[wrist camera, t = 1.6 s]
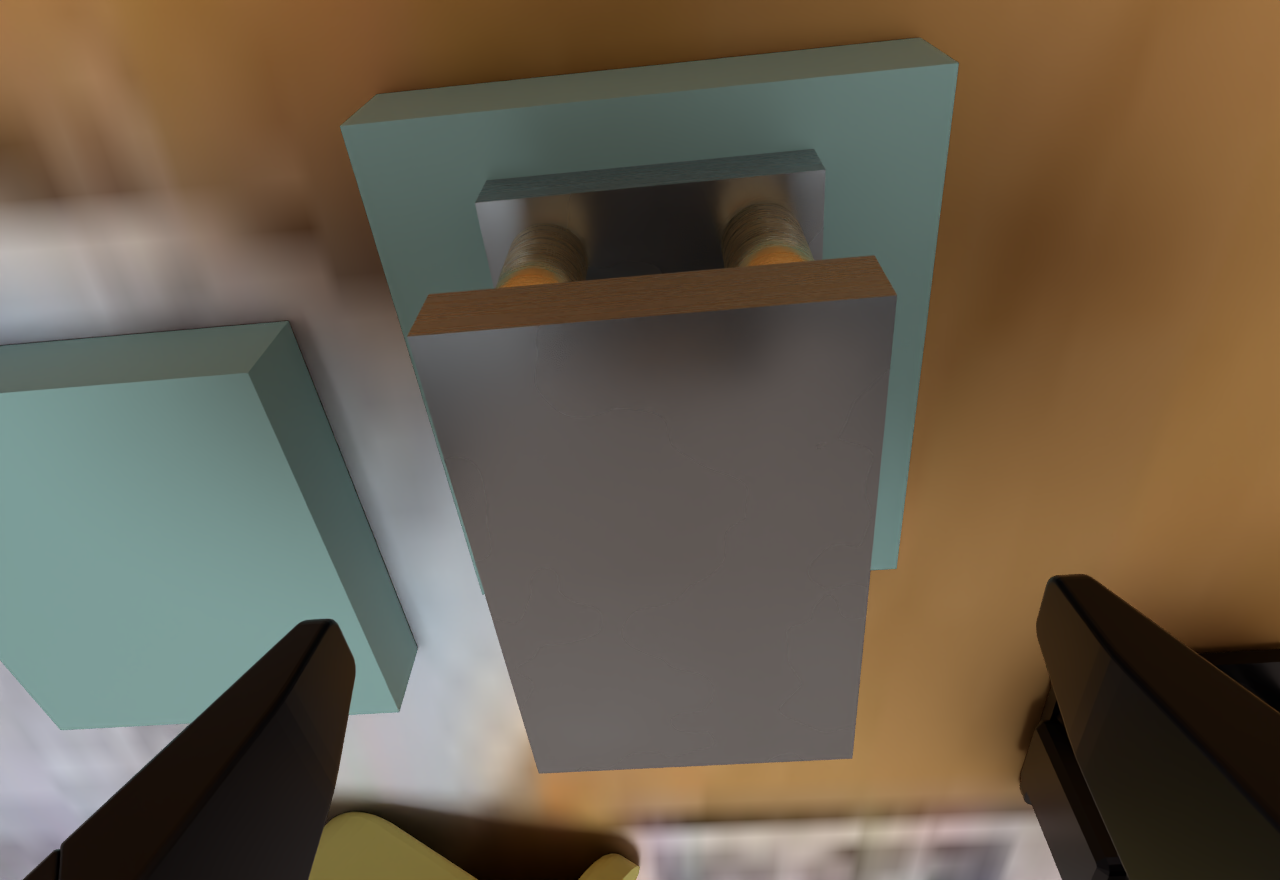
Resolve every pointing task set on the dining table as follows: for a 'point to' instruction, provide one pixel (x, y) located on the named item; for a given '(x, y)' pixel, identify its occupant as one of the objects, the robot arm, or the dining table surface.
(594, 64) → the dining table surface
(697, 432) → the housing
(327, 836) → the plastic component
